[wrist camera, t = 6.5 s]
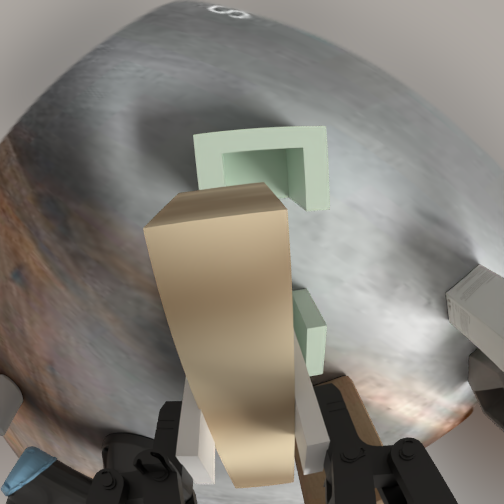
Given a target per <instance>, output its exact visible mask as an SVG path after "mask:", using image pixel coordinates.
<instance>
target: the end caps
mask: <svg viewBox="0 0 504 504" xmlns="http://www.w3.org/2000/svg"><path fill="white" fill-rule="evenodd" d="M193 139H194V149H195V159H196V168H197V177H198V186H199V190H203V189H210V188H218V187H225V186H233V185H242V184H250V183H259V182H264V183H265V184H266V185H267V186H268V187H269V188H270V189H271V191H272V192H273V193H274V194H275V195H276V197H277V198H290V199H292V200H293V201H294V202H295V203H297V204H298V205H299V206H300V207H302V208H303V209H304V210H305V211H317V210H330V198H329V169H328V150H327V134H326V126H292V127H268V128H253V129H240V130H229V131H220V132H211V133H203V134H195V135H193ZM292 301H293V328H294V331H295V334H296V337H297V340H298V343H299V346H300V349H301V352H302V355H303V358H304V361H305V364H306V367H307V370H308V373H309V376H314V375H320V374H323V366H324V356H325V344H326V330H327V325H326V323H325V321H324V319H323V317H322V316H321V314H320V312H319V310H318V308H317V306H316V304H315V303H314V301H313V299H312V297H311V295H310V293H309V291H308V290H307V289H301V290H293V291H292Z"/></svg>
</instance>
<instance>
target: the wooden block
mask: <svg viewBox="0 0 504 504" xmlns="http://www.w3.org/2000/svg"><path fill="white" fill-rule="evenodd" d="M329 383H332V384H334V385H335V386H336V387H337V388H338V389H339V390H340V392H341V394H342V397H343V399H344V402H345V404H346V407H347V409H348V412H349V414H350V417H351V419H352V422H353V424H354V427H355V429H356V432H357V434H358V436H359V438H360V439H361V440H362V441H363V442H365V443H366V444H369V445H372V446H383V444H382V442H381V440H380V438H379V436H378V433H377V431H376V429H375V427H374V425H373V423H372V421H371V419H370V416H369V414H368V412H367V410H366V408H365V406H364V404H363V402H362V400H361V398H360V396H359V394H358V392H357V390H356V388H355V386H354V383H353V381H352V380H351V379H350V378H349V377H348V376H342V377H339V378H337V379H334V380H331V381H328V382H325V383H322V384H319V385H324V384H329ZM319 385H316V386H319ZM313 387H314V386H313ZM294 457H295V462H296V466H297V471H298V476H299V480H300V485H301V489H302V494H303V498H304V503H305V504H326V501H325V487H323V486H324V481H325V478H326V474H325V470H324V468H323V471H321V472H317V473H312V474H307V475H304V474H303V469H302V465H301V460H300V455H299V451H298V446H297V442H296V437H295V450H294ZM375 495H376V503H377V504H384V503H383V501H382V499H381V497H380V494H379V492H378V490H377V488H375Z"/></svg>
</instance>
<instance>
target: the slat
mask: <svg viewBox="0 0 504 504" xmlns="http://www.w3.org/2000/svg"><path fill="white" fill-rule="evenodd" d="M143 230H144V234H145V239H146V243H147V248H148V252H149V256H150V260H151V264H152V268H153V272H154V276H155V279H156V283H157V287H158V291H159V294H160V298H161V301H162V305H163V308H164V311H165V315H166V318H167V321H168V324H169V328H170V331H171V334H172V337H173V340H174V343H175V346H176V349H177V352H178V355H179V358H180V361H181V364H182V366H183V369H184V372H185V375H186V377H187V380H188V383H189V385H190V388H191V391H192V393H193V396H194V398H195V401H196V403H197V406H198V408H199V409H201V411H202V413H203V416H204V418H205V421H206V423H207V426H208V428H209V431H210V433H211V435H212V438H213V440H214V442H215V447H216V450H217V452H218V454H219V456H220V458H221V460H222V462H223V464H224V466H225V468H226V470H227V472H228V474H229V476H230V478H231V480H232V482H233V484H234V486H235V488H249V487H260V486H269V485H277V484H284V483H291V482H294V450H295V370H294V328H293V301H292V279H291V260H290V243H289V227H288V213H287V208H286V207H285V206H284V205H283V204H282V202H281V201H280V200H279V199H278V198H277V197H276V195H275V194H274V193H273V192H272V191H271V189H270V188H269V187H268V186H267V185H266V184H265V183H264V182H259V183H250V184H242V185H233V186H225V187H218V188H210V189H203V190H196V191H190V192H183V193H178V194H177V195H176V196H175V197H174V198H173V199H172V200H171V201H170V202H169V203H168V204H167V205H166V206H165V207H164V208H163V209H162V210H161V211H160V212H159V213H158V214H157V215H156V216H155V217H154V218H153V219H152V220H151V221H150V222H149V223H148V224H147V225H146V226H145V227H144V228H143Z"/></svg>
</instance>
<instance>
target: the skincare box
mask: <svg viewBox="0 0 504 504" xmlns="http://www.w3.org/2000/svg"><path fill="white" fill-rule="evenodd" d="M446 299H447V307H448V315H449V322H450V323H451V324H452V325H453V326H454V327H456V328H457V329H458V330H459V331H460V332H461V333H462V334H463V335H465V336H466V337H467V338H468V339H469V340H470V341H471V342H472V343H473V344H474V345H476V346H477V347H478V348H479V349H480V350H481V351H482V352H483V353H484V354H485V355H486V356H487V357H488V358H489V359H490V360H492V361H493V362H494V363H495V364H496V365H497V366H498V367H499V368H500V369H501V370H502V371H503V372H504V278H503V277H501V276H500V275H498V274H496V273H494V272H493V271H491V270H489V269H487V268H486V267H484V266H482V265H480V264H479V265H478V266H477V267H476V268H475V269H473V270H472V271H471V272H470V273H469V274H468V275H467V276H466V277H464V278H463V279H462V280H461V281H460V282H459V283H457V284H456V285H455V286H454V287H453V288H451V289H450V290H449V291H448V292H447V293H446Z"/></svg>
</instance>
